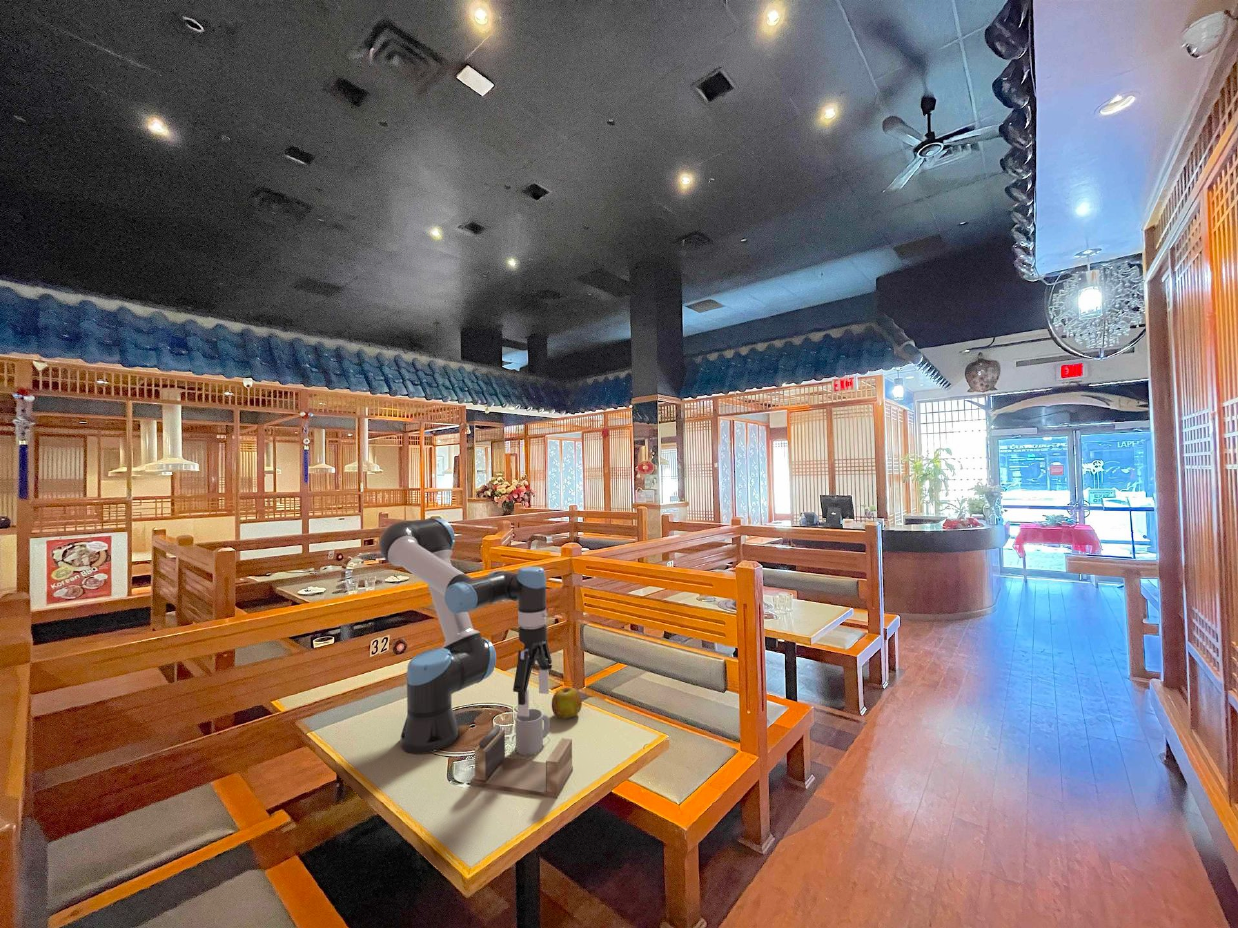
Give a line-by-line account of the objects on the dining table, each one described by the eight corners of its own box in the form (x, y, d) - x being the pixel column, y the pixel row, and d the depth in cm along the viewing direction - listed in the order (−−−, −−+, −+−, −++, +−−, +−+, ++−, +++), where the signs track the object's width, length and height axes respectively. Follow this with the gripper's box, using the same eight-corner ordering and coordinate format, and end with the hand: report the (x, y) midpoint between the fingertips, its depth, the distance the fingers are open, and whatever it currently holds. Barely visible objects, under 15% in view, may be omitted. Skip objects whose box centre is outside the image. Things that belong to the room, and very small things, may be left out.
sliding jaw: (475, 778, 120) (474, 742, 120) (495, 755, 130) (494, 722, 130) (486, 780, 120) (486, 744, 120) (505, 757, 129) (505, 723, 129)
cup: (510, 747, 136) (510, 714, 136) (542, 734, 143) (542, 703, 143) (524, 759, 131) (524, 724, 131) (556, 745, 137) (556, 712, 137)
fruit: (562, 706, 160) (562, 680, 160) (587, 711, 156) (587, 685, 156) (545, 720, 151) (545, 693, 151) (571, 726, 147) (571, 698, 147)
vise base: (470, 784, 120) (469, 751, 120) (492, 759, 131) (492, 728, 131) (556, 798, 115) (556, 763, 115) (572, 770, 125) (572, 738, 126)
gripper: (526, 640, 124) (527, 727, 124) (561, 612, 148) (563, 685, 148) (498, 639, 126) (499, 724, 125) (538, 611, 150) (539, 683, 150)
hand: (534, 703), depth 137 cm, fingers open, 13 cm apart
